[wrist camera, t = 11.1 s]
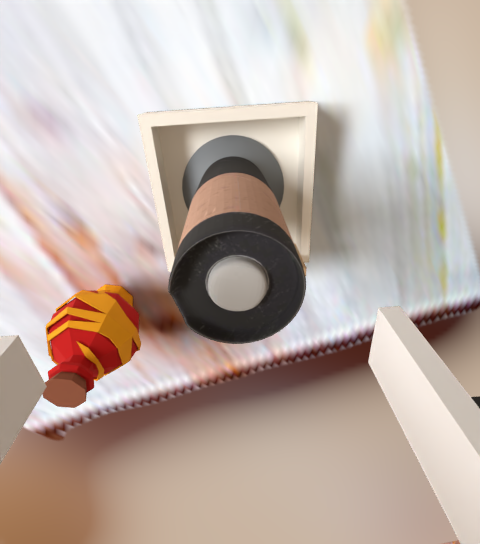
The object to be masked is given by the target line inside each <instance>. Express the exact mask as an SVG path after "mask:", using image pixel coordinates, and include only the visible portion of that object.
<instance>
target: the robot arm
mask: <svg viewBox="0 0 480 544" xmlns="http://www.w3.org/2000/svg"><path fill="white" fill-rule="evenodd" d="M368 362H369V365H370V367H371V369H372V371H373V372H374V374H375V376H376V378H377V380H378V382H379V384H380V386H381V388H382V390H383V392H384V394H385V396H386V398H387V400H388V402H389V404H390V406H391V408H392V410H393V412H394V414H395V416H396V418H397V420H398V422H399V424H400V426H401V428H402V429H403V431H404V433H405V435H406V437H407V439H408V441H409V443H410V445H411V447H412V449H413V451H414V453H415V455H416V457H417V459H418V461H419V463H420V465H421V467H422V469H423V471H424V473H425V475H426V477H427V479H428V480H429V483H430V484H431V487H432V489H433V491H434V492H435V494H436V496H437V498H438V500H439V502H440V504H441V506H442V508H443V510H444V512H445V514H446V516H447V518H448V520H449V522H450V524H451V526H452V528H453V530H454V532H455V533H456V536H457V538H458V540H459V542H460V544H480V397H470V396H469V394H468V393H467V392H466V391H465V389H464V388H463V387H462V385H461V384H460V383H459V381H458V380H457V379H456V378H455V376H454V375H453V374H452V372H451V371H450V370H449V369H448V368H447V366H446V365H445V364H444V362H443V361H442V360H441V358H440V357H439V356H438V355H437V353H436V352H435V351H434V349H433V348H432V347H431V346H430V344H429V343H428V342H427V340H426V339H425V338H424V337H423V335H422V334H421V333H420V332H419V330H418V329H417V328H416V326H415V325H414V324H413V322H412V321H411V320H410V319H409V317H408V316H407V315H406V314H405V312H404V311H403V310H402V308H401V307H400V306H394V307H381V308H378V313H377V319H376V324H375V329H374V335H373V340H372V345H371V350H370V356H369V361H368ZM46 387H47V386H46V384H45V383H44V381H43V379H42V377H41V375H40V374H39V372H38V370H37V368H36V366H35V365H34V363H33V361H32V359H31V357H30V356H29V354H28V352H27V350H26V348H25V347H24V345H23V343H22V341H21V339H20V338H19V336H18V335H14V336H1V337H0V464H1V462H2V460H3V459H4V457H5V455H6V454H7V452H8V450H9V449H10V447H11V445H12V444H13V442H14V440H15V439H16V437H17V435H18V434H19V432H20V430H21V429H22V427H23V425H24V424H25V422H26V420H27V419H28V417H29V415H30V414H31V412H32V410H33V409H34V407H35V405H36V404H37V402H38V400H39V399H40V397H41V395H42V394H43V392H44V390H45V389H46Z"/></svg>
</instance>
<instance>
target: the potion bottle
mask: <svg viewBox="0 0 480 544" xmlns="http://www.w3.org/2000/svg"><path fill="white" fill-rule="evenodd" d="M74 297H76V298H74ZM72 298H74V299H73V300H72V301H70V300H71V299H72ZM69 301H70V302H69ZM67 302H69V303H67ZM66 303H67V304H66ZM48 328H49V329H48ZM46 335H47V344H48V353H49V356H51V359H52V361H53V362H54V363H56V364H57V366H55V367H54V368H52V369H51V370H50V371H48V376H49V380H48V381H47V382H45V384H46V386H47V387H46V389H45V390H44V392H43V398H45V399H47V400H48V401H50V402H51V403H53V404H54V405H56V406H59V407H71V408H75V407H77V406H79V405H80V404H82V403H84V402H85V401H86V393H87V392H88V391H90V390H92V389H93V388H94V380H96V381H97V380H99V379H100V378H102V377H103V376H104V375H107V374H109V373H111V372H112V371H114V370H116V369H118V368H119V367H121V366H123V365H124V364H126V363H127V362H129V361H130V360H131V358H132V356H133V355H134V353H135V352H136V351H138V350H140V346H141V341H140V338H139V314H138V313H137V311H136V310H135V309H134V308H133V297H132V296H131V295H130V294H129V293H128V292H127V291H126V290H125V289H124V288H123V287H122V286H114V285H106V284H105V285H104V286H103V287H101V288H100V289H98V290H97V291H86V290H82V291H80V292H78V293H76V294H75V295H73V296H72V297H71V298H70V299H68V300H67V301H66V302H64V303H63V304H62V305H61V306H59V307H58V308H57V309H56V313H55V314H53V316H52V319H51V321H50V322H49V323H48V324H47V325H46ZM50 341H51V345H50ZM51 348H52V349H51Z"/></svg>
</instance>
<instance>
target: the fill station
mask: <svg viewBox="0 0 480 544" xmlns="http://www.w3.org/2000/svg"><path fill="white" fill-rule="evenodd" d="M317 111H318V103H316V102H310V101H304V102H289V103H274V104H260V105H245V106H230V107H216V108H201V109H186V110H171V111H157V112H146V113H143V114H139V115H137V116H138V121H139V126H140V131H141V136H142V141H143V146H144V152H145V157H146V162H147V167H148V172H149V177H150V182H151V187H152V192H153V197H154V202H155V207H156V212H157V217H158V222H159V227H160V232H161V237H162V242H163V247H164V253H165V258H166V263H167V268H168V272H170V271H171V270H172V266H173V263H174V260H175V256H176V253H177V249H178V246H179V243H180V239H181V236H182V232H183V229H184V225H185V222H186V219H187V215H188V212H189V208H190V205H191V202H192V199H193V197H194V195H195V192H196V190H197V188H198V185H199V183H200V181H201V179H202V177H203V175H204V173H205V171H206V170H207V169H208V168H209V166H210V165H211V164H213V163H214V162H216V161H217V160H219V159H221V158H225V157H230V156H236V157H241V158H245V159H247V160H249V161H251V162H252V163H253V164H255V165H256V166H257V167H258V168H259V170H260V171H261V172H262V174H263V176H264V177H265V179H266V181H267V183H268V185H269V186H270V188H271V190H272V192H273V194H274V196H275V198H276V200H277V202H278V205H279V207H280V210H281V212H282V215H283V217H284V220H285V222H286V225H287V227H288V230H289V233H290V235H291V238H292V240H293V243H294V245H295V248H296V250H297V253H298V255H299V258H300V260H301V263H302V266H303V269H304V273H305V276H306V266H305V264H304V262H309V253H310V235H311V217H312V200H313V182H314V164H315V146H316V128H317Z"/></svg>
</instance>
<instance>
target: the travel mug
mask: <svg viewBox="0 0 480 544" xmlns="http://www.w3.org/2000/svg"><path fill="white" fill-rule="evenodd" d="M168 290H169V293H170V294H171V295H172V297H173V299H174V301H175V303H176V305H177V306H178V308H179V310H180V312H181V314H182V316H183V318H184V321H185V323H186V325H187V326H188V327H189V328H190V329H191V330H193V331H194V332H196V333H197V334H199V335H201V336H203V337H206V338H208V339H211V340H214V341H218V342H223V343H232V344H242V343H250V342H255V341H259V340H262V339H265V338H267V337H270V336H272V335H274V334H275V333H277V332H279V331H280V330H281V329H283V328H284V327H285V326H287V325H288V324H289V323H290V322H291V321H292V319H293V318H294V317H295V316H296V314H297V313H298V311H299V309H300V307H301V305H302V303H303V300H304V296H305V290H306V278H305V273H304V269H303V266H302V263H301V260H300V258H299V255H298V253H297V250H296V248H295V245H294V243H293V240H292V238H291V235H290V233H289V230H288V227H287V225H286V222H285V220H284V217H283V215H282V212H281V210H280V207H279V205H278V202H277V200H276V198H275V196H274V194H273V192H272V190H271V188H270V186H269V185H268V183H267V181H266V179H265V177H264V176H263V174H262V172H261V171H260V170H259V168H258V167H257V166H256V165H255V164H253V163H252V162H251V161H249V160H247V159H245V158H241V157H236V156H230V157H225V158H221V159H219V160H217V161H216V162H214V163H213V164H211V165H210V166H209V168H208V169H207V170H206V171H205V173H204V175H203V177H202V179H201V181H200V183H199V185H198V188H197V190H196V192H195V195H194V197H193V199H192V202H191V205H190V208H189V212H188V215H187V219H186V222H185V225H184V229H183V232H182V236H181V239H180V243H179V246H178V249H177V253H176V256H175V260H174V263H173V266H172V270H171V274H170V279H169V286H168Z"/></svg>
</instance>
